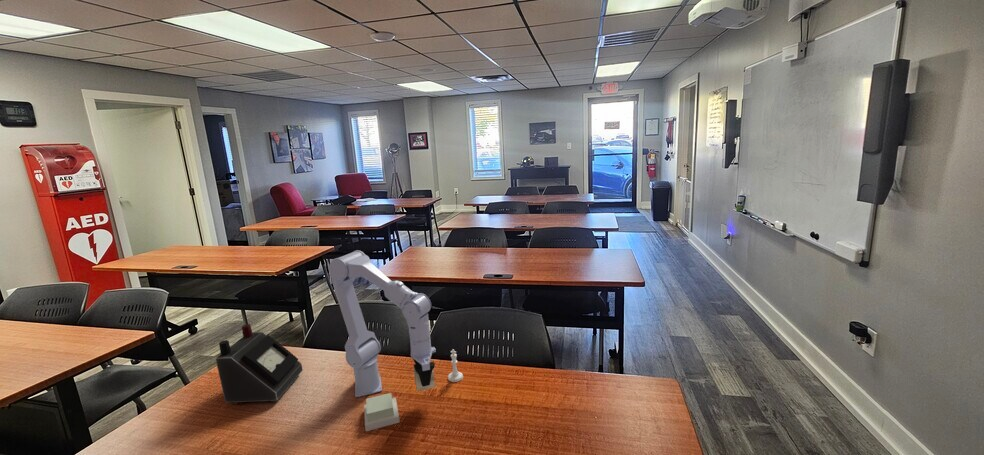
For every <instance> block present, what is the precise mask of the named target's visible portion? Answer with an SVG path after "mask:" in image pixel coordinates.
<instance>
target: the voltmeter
mask: <svg viewBox="0 0 984 455" xmlns="http://www.w3.org/2000/svg"><path fill="white" fill-rule="evenodd" d="M241 332H242V337H241V338H240V339H238V340H237V341H235V343H233V344H232V345H230V342H229V340H227V339H225V340H222V341H220V342H219V343H218V346H219V352H220V354H219V355H218V356H216V357H215V359H214V360H215V364H216V368H217V372H218V376H219V380H220V381H219V382H220V384H221V389H222V394H223V397H224V403H233V404H234V403H237V404H239V403H245V402H268V401H271V403H277V402H278V401H279V400H280V397H282V396H283V394H284V393H285V392H287V390H288V388H290V386H291V384H293V383H294V382H295V380H297V379H298V377H299V376H300V374H301V373H302V372H303V371H304V369H303V363H301V362H300V361H299V358H298V357H296V356H295V354H293V353H292V352H291V351H289V350H288V349H287V348H286V347H284V346H283V345H282V344H281V343H279V342H278V341H277V340H276V339H274V338H273V337H272V336H271V335H270V334H266V333H264V332H263V331H256V332H255V331H254V332H253V329H252V326H251V324H249V323H248V324H243V325H242V326H241ZM238 402H239V403H238Z"/></svg>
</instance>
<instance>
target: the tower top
mask: <svg viewBox="0 0 984 455" xmlns="http://www.w3.org/2000/svg"><path fill="white" fill-rule="evenodd" d="M392 398H393V395H392V392H389V393H385V394H380V395H376V396H373V397H369V398H368V397H367V398H366V400H365V401H366V402H365V403H366V404H365V405H366V408H367V420H368V422H370V421H374V420H378V419H382V418H386V417H390V416H394V411H393V403H392Z"/></svg>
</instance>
